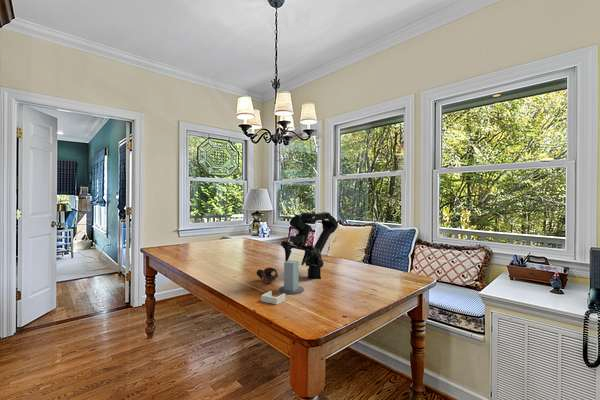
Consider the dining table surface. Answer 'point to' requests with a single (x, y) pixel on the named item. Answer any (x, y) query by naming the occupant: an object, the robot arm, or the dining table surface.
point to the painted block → (291, 275)
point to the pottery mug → (267, 274)
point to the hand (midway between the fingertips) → (293, 263)
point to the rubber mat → (297, 291)
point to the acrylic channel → (272, 298)
